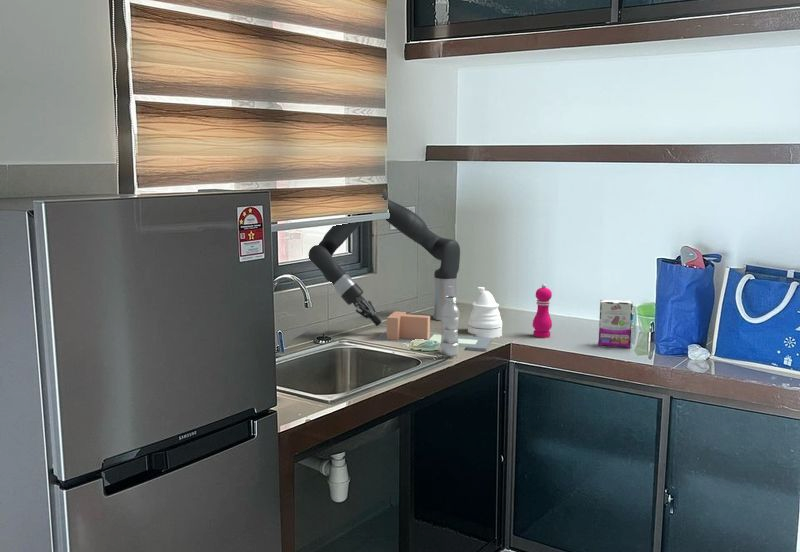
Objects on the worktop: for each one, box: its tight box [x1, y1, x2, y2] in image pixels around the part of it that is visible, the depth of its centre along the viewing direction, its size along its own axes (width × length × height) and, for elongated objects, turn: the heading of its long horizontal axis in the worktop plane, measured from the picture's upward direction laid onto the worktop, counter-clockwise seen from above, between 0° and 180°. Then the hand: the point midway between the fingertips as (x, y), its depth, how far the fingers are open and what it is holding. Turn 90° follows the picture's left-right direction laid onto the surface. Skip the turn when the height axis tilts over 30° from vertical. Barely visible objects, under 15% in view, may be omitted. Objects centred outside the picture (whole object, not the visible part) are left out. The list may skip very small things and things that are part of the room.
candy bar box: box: [598, 299, 633, 349], centre depth 274 cm, size 11×5×16 cm, turn 77°
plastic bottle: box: [439, 296, 461, 358], centre depth 254 cm, size 6×7×20 cm
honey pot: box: [467, 286, 503, 339], centre depth 288 cm, size 13×13×18 cm
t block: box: [386, 311, 431, 340], centre depth 278 cm, size 12×14×8 cm
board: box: [374, 329, 493, 352], centre depth 276 cm, size 17×40×1 cm, turn 76°
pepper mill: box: [532, 283, 553, 339], centre depth 287 cm, size 7×7×20 cm
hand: (379, 324), depth 280 cm, fingers closed
